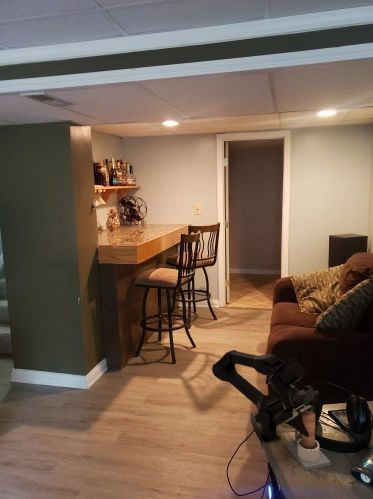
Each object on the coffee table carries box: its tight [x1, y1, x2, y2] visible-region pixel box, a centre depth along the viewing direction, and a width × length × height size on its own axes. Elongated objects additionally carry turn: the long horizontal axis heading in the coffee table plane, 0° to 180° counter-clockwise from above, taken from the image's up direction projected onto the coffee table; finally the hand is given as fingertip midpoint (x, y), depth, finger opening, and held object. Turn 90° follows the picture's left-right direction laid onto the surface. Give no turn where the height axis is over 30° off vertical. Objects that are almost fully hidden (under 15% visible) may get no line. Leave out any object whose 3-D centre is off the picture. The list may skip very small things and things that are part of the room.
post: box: [301, 411, 316, 450], centre depth 128 cm, size 4×4×13 cm
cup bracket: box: [284, 437, 331, 472], centre depth 131 cm, size 13×9×5 cm
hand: (312, 434), depth 127 cm, fingers closed on post, 4 cm apart
